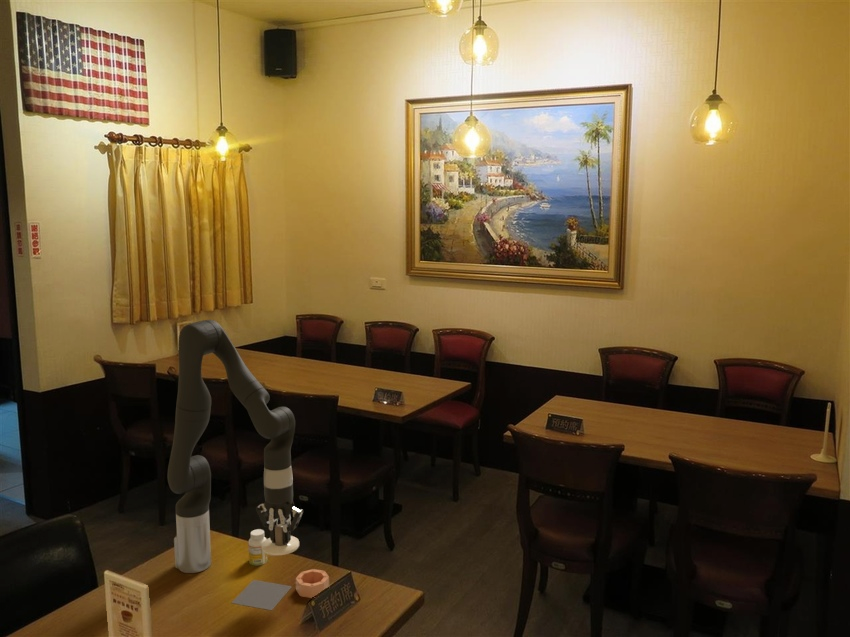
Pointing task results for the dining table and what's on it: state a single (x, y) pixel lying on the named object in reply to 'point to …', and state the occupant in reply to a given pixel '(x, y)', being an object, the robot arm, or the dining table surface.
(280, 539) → the lid
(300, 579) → the bowl
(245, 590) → the mat
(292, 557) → the dining table surface
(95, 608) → the dining table surface
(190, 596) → the dining table surface
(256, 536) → the supplement bottle
